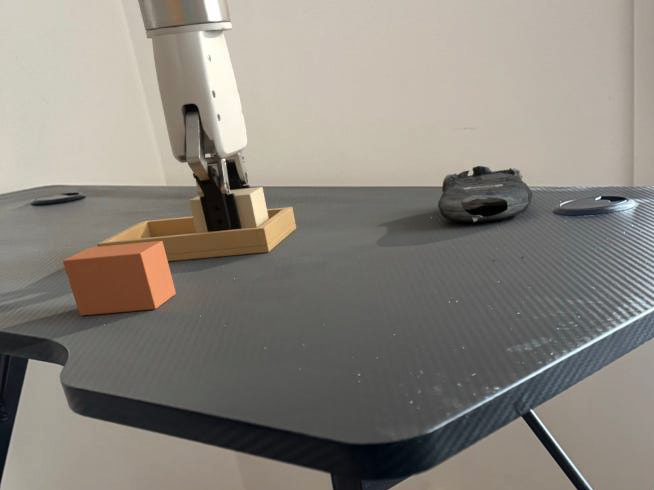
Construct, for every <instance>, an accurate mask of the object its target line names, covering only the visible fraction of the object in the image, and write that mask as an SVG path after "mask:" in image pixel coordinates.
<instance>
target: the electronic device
mask: <svg viewBox="0 0 654 490" xmlns="http://www.w3.org/2000/svg"><path fill="white" fill-rule="evenodd" d="M471 170H472V174H471V175H469V173H470V170H469V169H468V170H463V171H461V172H459V173H458V174H457V173H451V174H450V173H449V174H447V175H446V176H445V177H444V179H443V181H442V186H441V187H442V189H441V191H442V195H441V196H440V197H439V200H438V201H437V207H438V209H439V211H440V214H441V216H442V217H443V218H445V219H447V220H450V221H453V222H455V223H468V224H474V223H484V222H493V221H497V220H498V221H504V220H505V219H507V218H510V217H514V216H517V215H520V214H523V213H524V212H526V211H527V210H528V208H529V206H530V205H531V203H532V199H533V192H532V190H531V188H530V187H529V185H528V184H527V183H526V182H524V181H523V180H522V179H523V177H524V176H523V175H522V174H521V170H519V169H517V168H513V167H509V169H502V170H494V171H492V170H491V169H490V167H488V166H482V165H477V166H472V169H471ZM473 196H475V197H477V196H478V197H479V196H480V197H483V198H474V199H472V200H469V201H464V200H466V199H467V198H470V197H473Z"/></svg>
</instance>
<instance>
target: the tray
mask: <svg viewBox="0 0 654 490" xmlns="http://www.w3.org/2000/svg"><path fill="white" fill-rule="evenodd" d="M267 213H268V217H269V220H268V221H266V222H265V223H264V224H262V225H261V226H259V227H258V228H246V229H235V230H225V231H214V232H204V233H197V232H196V228H195V224H194V219H193V215H192V216H183V217H175V218H174V217H172V218H162V219H153V220H144V221H141V222H139V223H136V224H134V225H132V226H130V227H128V228H126V229H125V230H122V231H119V232H118V233H116V234H114V235H112V236H110V237H108V238H106V239H104V240H102V241H100V242H98V243H96V247H101V246H112V245H123V244H133V243H144V242H155V241H162V242H163V245H164V249H165V253H166V257H167V261H168V262H176V261H186V260H187V261H188V260H198V259H208V258H209V259H210V258H219V257H220V258H221V257H230V256H231V257H233V256H240V255H241V256H242V255H252V254H262V253H263V254H264V253H270V252H271V251H272V250H273V249H274V248H276V246H278V245H279V244H280V243H281V242H282V241H284V240H285V239H286V238H287V237H288V236H289V235H291V234H292V233H293V232H294V231H295V230H296V229H297V224H296V219H295V214H294V209H293V206H288V207H277V208H267Z"/></svg>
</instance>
